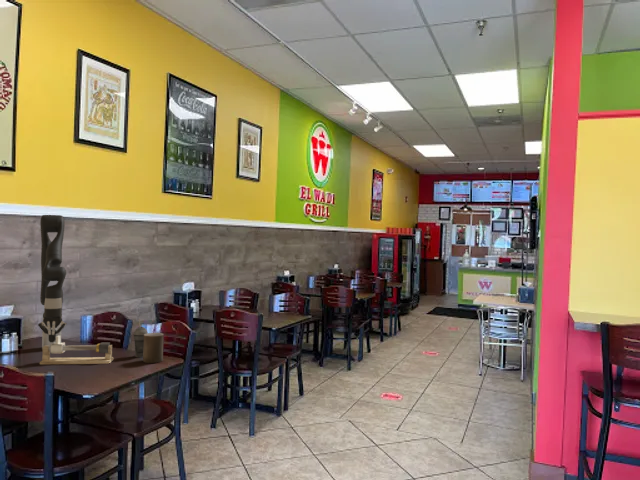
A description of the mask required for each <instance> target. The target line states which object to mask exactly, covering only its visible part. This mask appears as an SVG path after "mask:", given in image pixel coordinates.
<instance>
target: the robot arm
mask: <svg viewBox="0 0 640 480" xmlns="http://www.w3.org/2000/svg"><path fill="white" fill-rule="evenodd" d="M39 225H40V237H41V238H40V239H41V250H40V251H41V252H40V253H41V254H40V266H41V267H40V269H41V272H40V273H41V280H40V281H41V282H40V294H39V295H40V304H41V305H42V306H43V307H44V309H43V310H44V311H43V313H42V321H41V322H39V323H38V324H37V325H38V328H39V329H41V331H42V336H41V339H42V340H41V350H42V351H43V346H51V344H53V343H56V337H57V336H61V337H62V330H63V329H64V328H65V327H66V326H67V322H64V321H63V318H62V317H63V299H64V291H63V285H64V282H65V279H66V276H67V269H66V268H65V267H63V266H61V265H62V262H63V261H62V260H63V254H62V253H63V241H64V235H65V225H66V224H65V218H64V216H63V215H60V214H59V215H58V214H42V215H41V217H40V224H39ZM48 233H56V235H55V237H54V238H53V240H51V238H50V237H49V234H48ZM50 282H57V283H56V284H53V285H49V284H50ZM60 342H62V339H61V340H60Z"/></svg>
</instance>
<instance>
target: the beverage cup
mask: <svg viewBox="0 0 640 480" xmlns="http://www.w3.org/2000/svg"><path fill="white" fill-rule="evenodd" d="M147 333H148V329H146V328H145V327H144V326H141V319H140V318H138V327H137V328H136V329H135V330H134V331H133V339H134V341H133V342H134V353H135V358H143V347H144V334H147Z"/></svg>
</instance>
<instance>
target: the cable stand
mask: <svg viewBox="0 0 640 480" xmlns="http://www.w3.org/2000/svg"><path fill="white" fill-rule="evenodd" d="M62 351H65V352H66V351H95V352H96V353H98V354H105V356H97V357H96V356H95V357H94V356H93V357H51V346H43V350H42V358H41V359H42V360H41V361H39V365H92V364H97V365H102V364H109V363H110V364H111V363H112V361H114V357H113V344H111V342H108V341H107V342H102V341H101V342H100V343H97V344H95V345H94V344H93V345H92V344H90V345H65V346H62Z"/></svg>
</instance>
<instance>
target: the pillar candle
mask: <svg viewBox="0 0 640 480" xmlns="http://www.w3.org/2000/svg"><path fill="white" fill-rule="evenodd" d="M161 361H162V362H163V361H164V333H162V332H149V333H147V334H144V347H143V357H142V362H143V363H145V364H146V363H147V364H157V362H158V363H161Z"/></svg>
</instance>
